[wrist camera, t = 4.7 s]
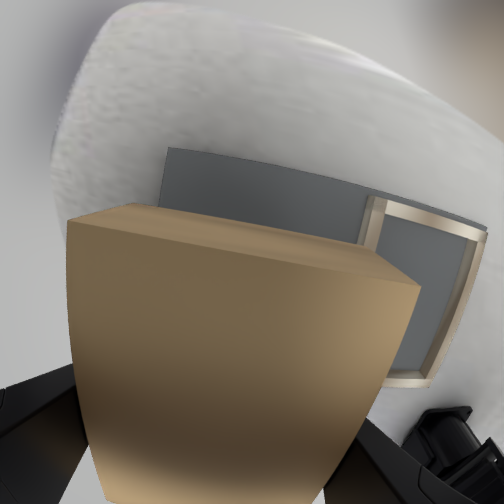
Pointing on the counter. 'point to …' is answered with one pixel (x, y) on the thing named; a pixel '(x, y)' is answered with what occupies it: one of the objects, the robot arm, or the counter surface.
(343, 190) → the mat
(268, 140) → the counter surface
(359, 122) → the counter surface
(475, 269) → the frame
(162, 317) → the tile
